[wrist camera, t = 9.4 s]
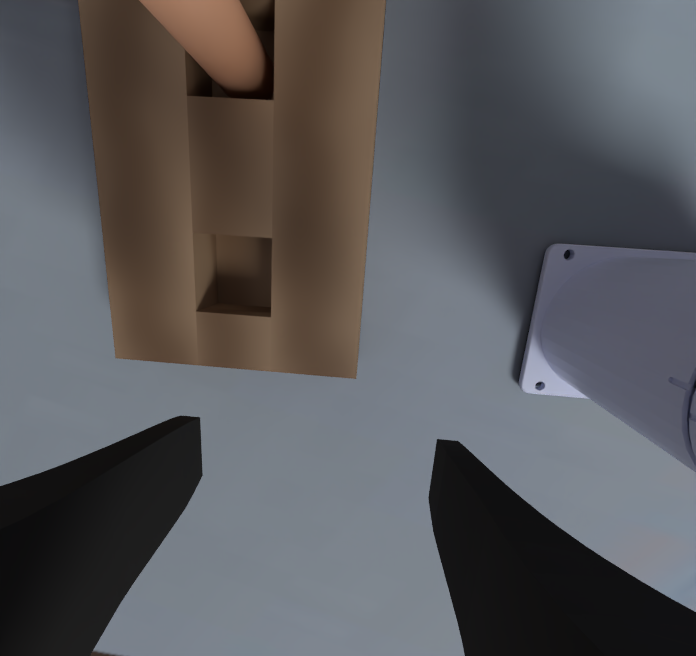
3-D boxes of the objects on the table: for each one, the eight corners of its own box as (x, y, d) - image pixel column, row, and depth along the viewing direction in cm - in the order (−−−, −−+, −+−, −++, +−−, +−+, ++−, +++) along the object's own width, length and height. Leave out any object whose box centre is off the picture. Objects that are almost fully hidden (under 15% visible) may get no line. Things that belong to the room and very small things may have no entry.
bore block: (388, -29, 15) (393, -95, 12) (357, 358, 19) (356, 378, 16) (124, -38, 15) (67, -105, 12) (152, 341, 20) (115, 358, 17)
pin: (276, 48, 15) (182, -155, 8) (274, 110, 16) (186, -19, 8) (222, 44, 15) (74, -161, 8) (223, 106, 16) (85, -25, 8)
